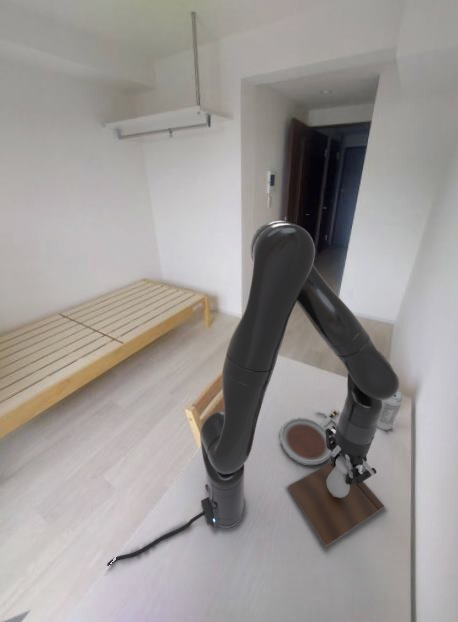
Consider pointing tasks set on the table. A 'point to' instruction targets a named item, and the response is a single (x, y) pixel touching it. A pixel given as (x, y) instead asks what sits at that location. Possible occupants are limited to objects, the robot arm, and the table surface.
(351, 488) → the serving board
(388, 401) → the energy drink can
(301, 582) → the table surface
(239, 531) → the table surface
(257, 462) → the table surface
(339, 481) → the salt shaker
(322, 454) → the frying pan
